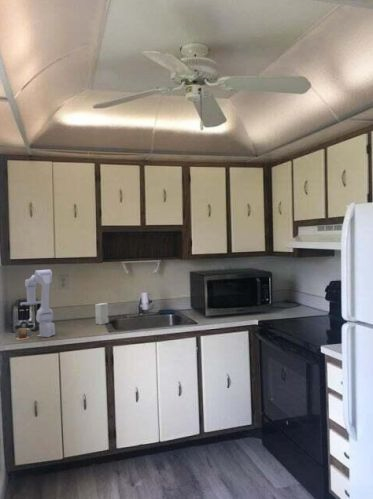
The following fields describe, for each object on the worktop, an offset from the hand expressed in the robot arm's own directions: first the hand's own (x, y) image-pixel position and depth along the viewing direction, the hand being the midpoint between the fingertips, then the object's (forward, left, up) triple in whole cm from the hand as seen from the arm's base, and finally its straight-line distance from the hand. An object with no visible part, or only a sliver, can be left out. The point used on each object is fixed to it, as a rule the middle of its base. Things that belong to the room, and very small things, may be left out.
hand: (32, 314), depth 289 cm
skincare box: (-40, -28, -11) cm, 50 cm away
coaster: (-10, +22, -10) cm, 26 cm away
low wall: (-6, +17, -10) cm, 20 cm away
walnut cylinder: (-10, +22, -10) cm, 26 cm away
